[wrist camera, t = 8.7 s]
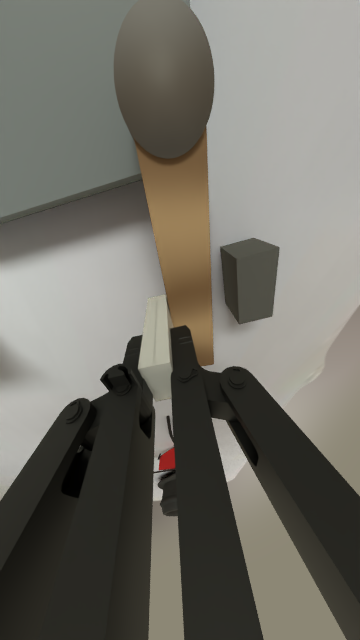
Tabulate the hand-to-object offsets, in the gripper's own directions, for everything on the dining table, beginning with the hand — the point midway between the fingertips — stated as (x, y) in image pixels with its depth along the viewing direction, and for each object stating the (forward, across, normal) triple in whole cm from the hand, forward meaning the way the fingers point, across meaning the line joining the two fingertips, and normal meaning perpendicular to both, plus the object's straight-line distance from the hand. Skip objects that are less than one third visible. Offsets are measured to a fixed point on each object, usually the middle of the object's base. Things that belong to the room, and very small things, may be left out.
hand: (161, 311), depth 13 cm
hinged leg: (+2, +2, +3) cm, 4 cm away
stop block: (+4, +8, 0) cm, 9 cm away
